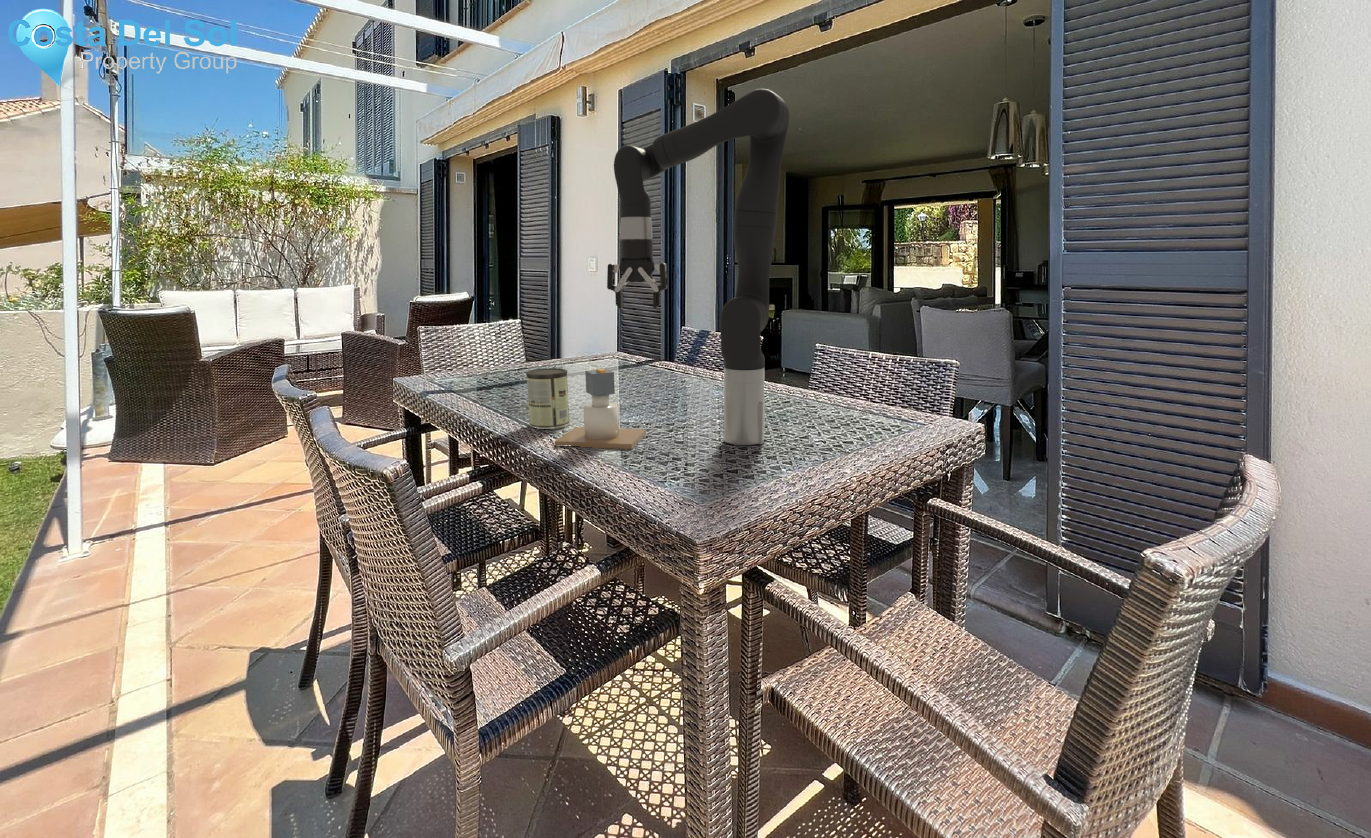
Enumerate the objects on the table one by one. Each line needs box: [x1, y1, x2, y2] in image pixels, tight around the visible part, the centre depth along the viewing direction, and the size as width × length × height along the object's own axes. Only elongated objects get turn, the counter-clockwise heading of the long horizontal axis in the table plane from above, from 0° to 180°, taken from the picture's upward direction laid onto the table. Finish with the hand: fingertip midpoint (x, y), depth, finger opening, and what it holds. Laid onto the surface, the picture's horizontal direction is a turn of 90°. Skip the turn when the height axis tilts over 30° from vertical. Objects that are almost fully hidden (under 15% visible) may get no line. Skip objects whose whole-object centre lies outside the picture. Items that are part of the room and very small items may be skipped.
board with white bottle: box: [554, 394, 647, 450], centre depth 165 cm, size 18×14×11 cm
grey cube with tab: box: [584, 368, 616, 397], centre depth 163 cm, size 5×5×6 cm
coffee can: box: [525, 367, 570, 430], centre depth 181 cm, size 10×10×14 cm
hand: (638, 308), depth 168 cm, fingers open, 8 cm apart
